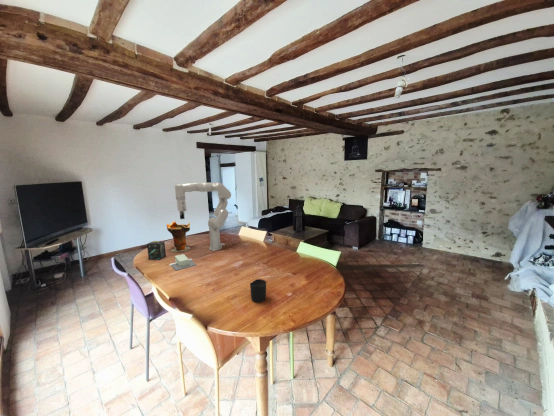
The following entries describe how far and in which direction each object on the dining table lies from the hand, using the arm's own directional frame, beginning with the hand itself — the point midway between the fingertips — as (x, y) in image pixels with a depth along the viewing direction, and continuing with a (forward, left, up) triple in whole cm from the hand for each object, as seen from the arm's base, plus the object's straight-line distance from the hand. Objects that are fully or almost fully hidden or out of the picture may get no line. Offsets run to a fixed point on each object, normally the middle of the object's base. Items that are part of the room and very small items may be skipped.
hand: (182, 218), depth 199 cm
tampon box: (+20, -14, -35) cm, 43 cm away
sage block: (+8, +11, -31) cm, 34 cm away
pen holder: (-9, +101, -35) cm, 107 cm away
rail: (+8, +13, -35) cm, 38 cm away
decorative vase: (-3, -24, -35) cm, 43 cm away
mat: (+8, +20, -35) cm, 41 cm away
